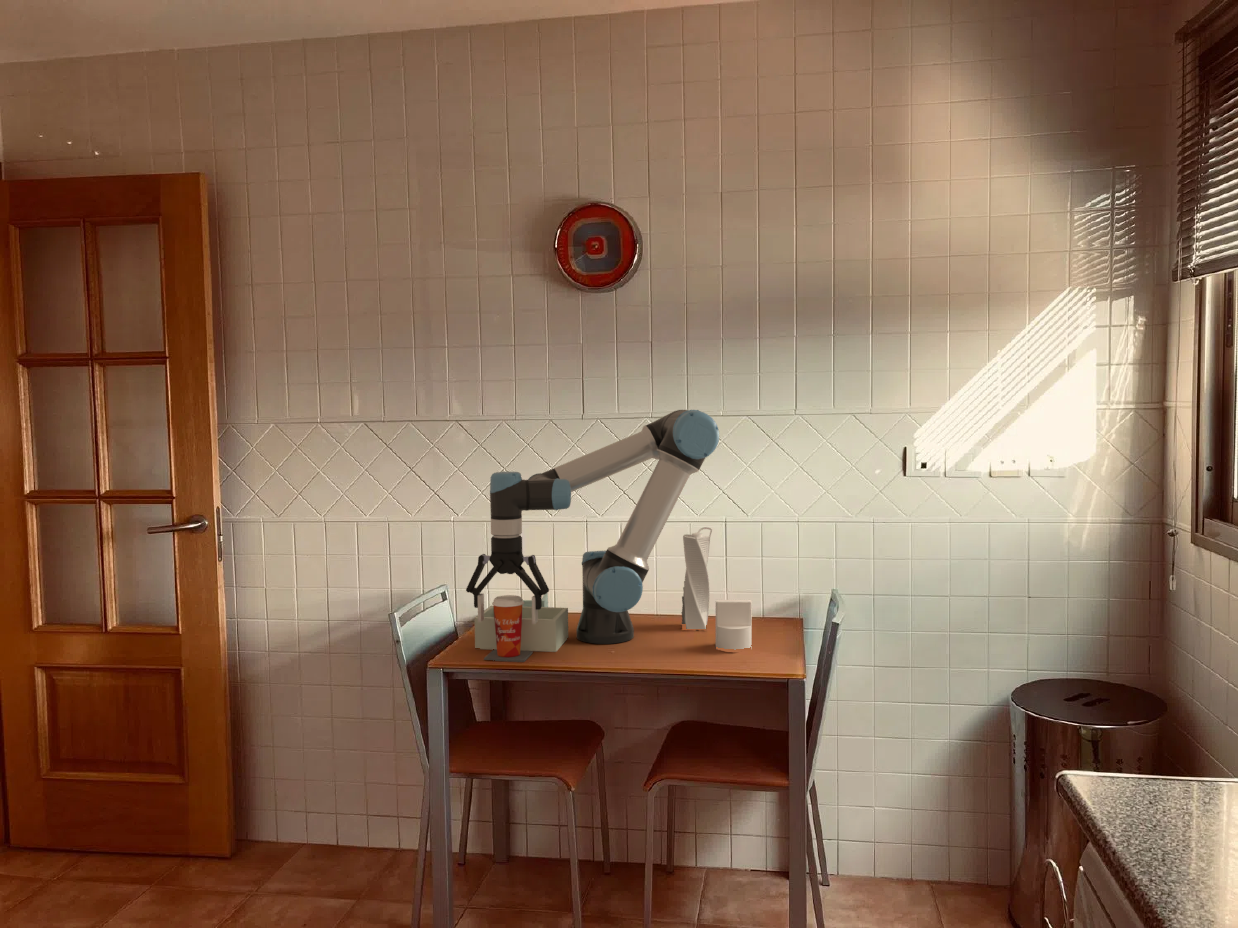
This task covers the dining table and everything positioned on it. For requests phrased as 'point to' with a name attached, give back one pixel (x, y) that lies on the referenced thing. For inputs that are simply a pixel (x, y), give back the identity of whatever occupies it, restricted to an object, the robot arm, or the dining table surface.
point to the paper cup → (508, 624)
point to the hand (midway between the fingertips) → (508, 621)
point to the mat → (520, 658)
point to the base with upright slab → (733, 624)
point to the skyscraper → (696, 581)
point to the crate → (528, 629)
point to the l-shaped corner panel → (544, 601)
